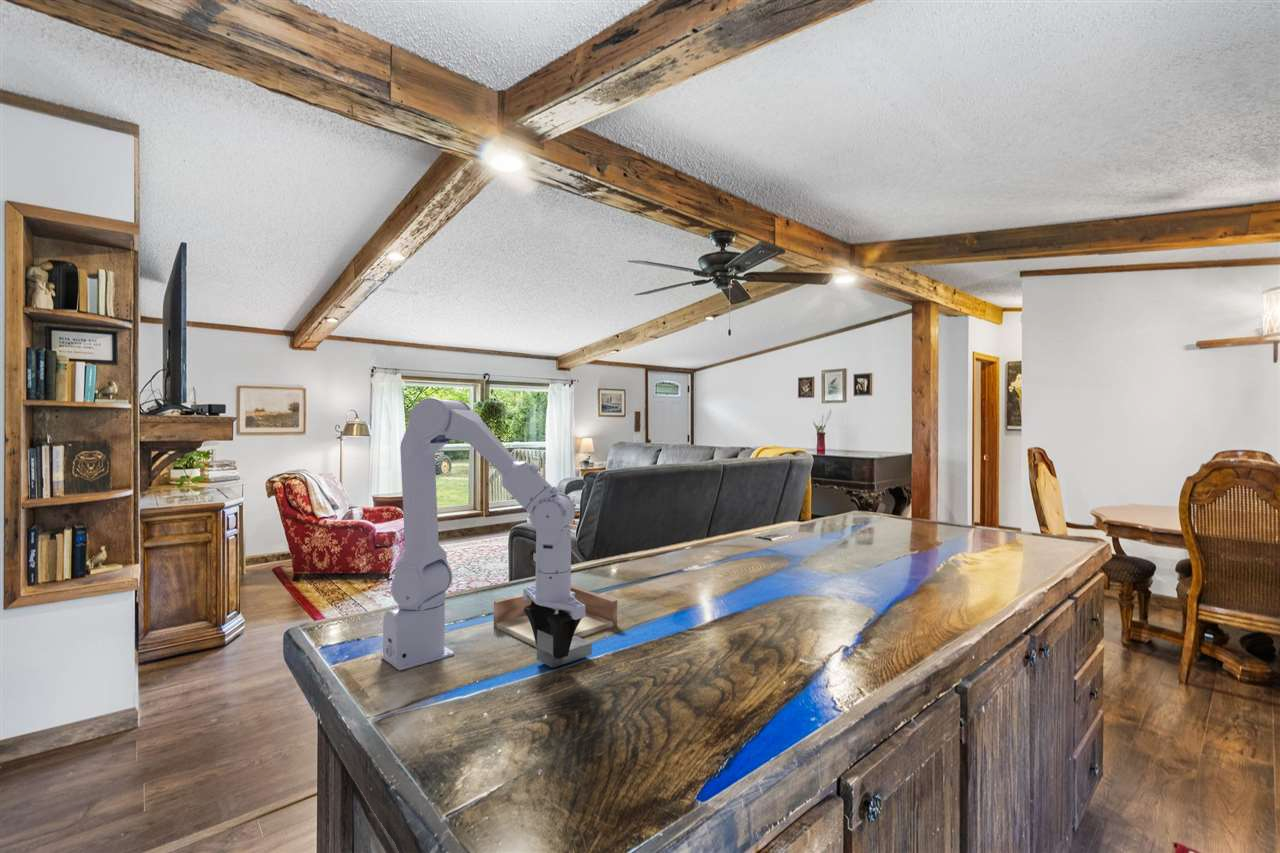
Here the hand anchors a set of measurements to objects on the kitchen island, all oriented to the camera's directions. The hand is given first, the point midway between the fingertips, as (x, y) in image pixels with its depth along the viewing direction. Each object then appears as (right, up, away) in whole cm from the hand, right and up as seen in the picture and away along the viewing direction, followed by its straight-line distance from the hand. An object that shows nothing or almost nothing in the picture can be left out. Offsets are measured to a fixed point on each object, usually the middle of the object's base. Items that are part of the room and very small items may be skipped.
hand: (552, 652), depth 95 cm
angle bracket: (+2, -2, +2) cm, 3 cm away
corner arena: (-2, -2, +19) cm, 19 cm away
